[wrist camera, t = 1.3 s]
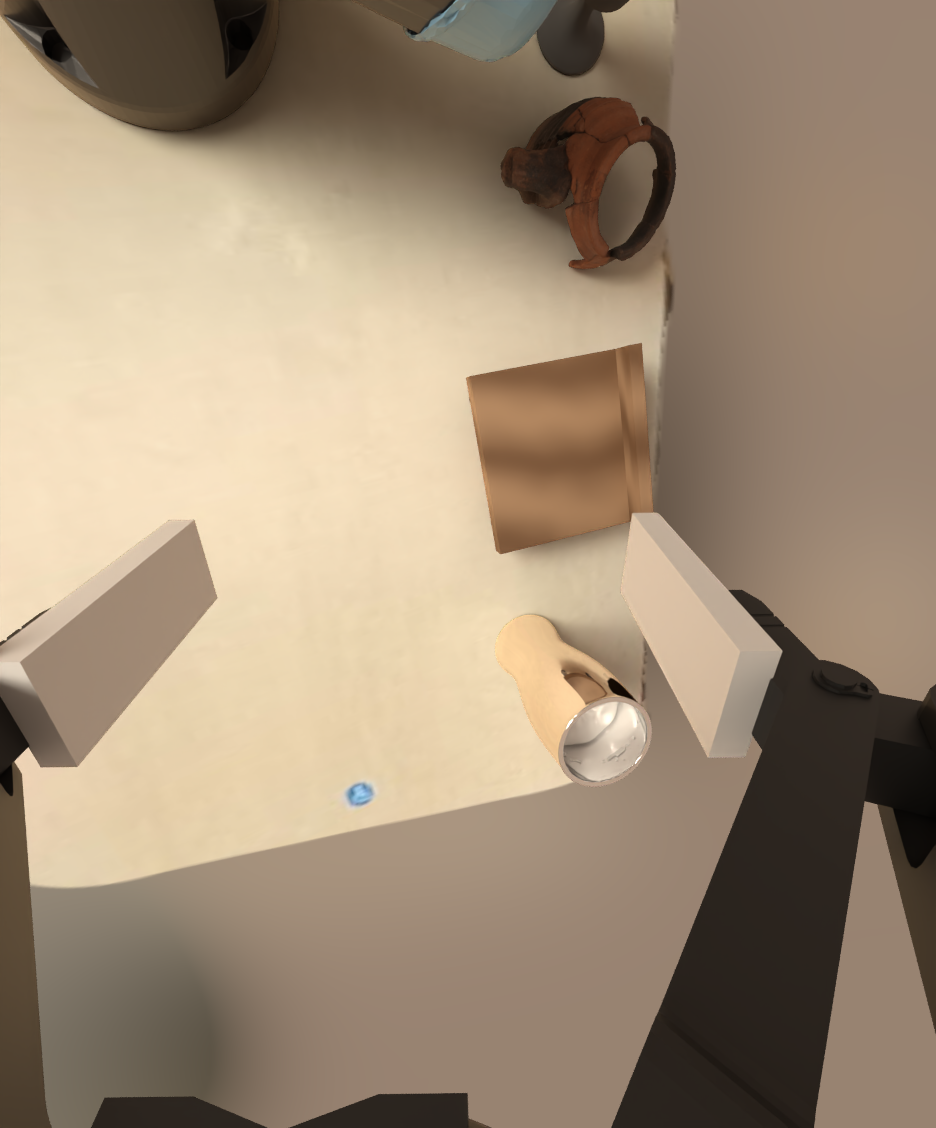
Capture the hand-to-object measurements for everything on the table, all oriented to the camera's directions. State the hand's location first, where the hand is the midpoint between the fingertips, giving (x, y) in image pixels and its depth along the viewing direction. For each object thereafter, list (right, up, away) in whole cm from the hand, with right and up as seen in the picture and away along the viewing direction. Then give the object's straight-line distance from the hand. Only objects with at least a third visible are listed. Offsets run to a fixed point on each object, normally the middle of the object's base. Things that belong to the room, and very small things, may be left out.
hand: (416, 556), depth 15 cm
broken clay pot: (+8, +27, +21) cm, 35 cm away
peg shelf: (+8, +9, +26) cm, 28 cm away
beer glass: (+7, -8, +31) cm, 32 cm away
